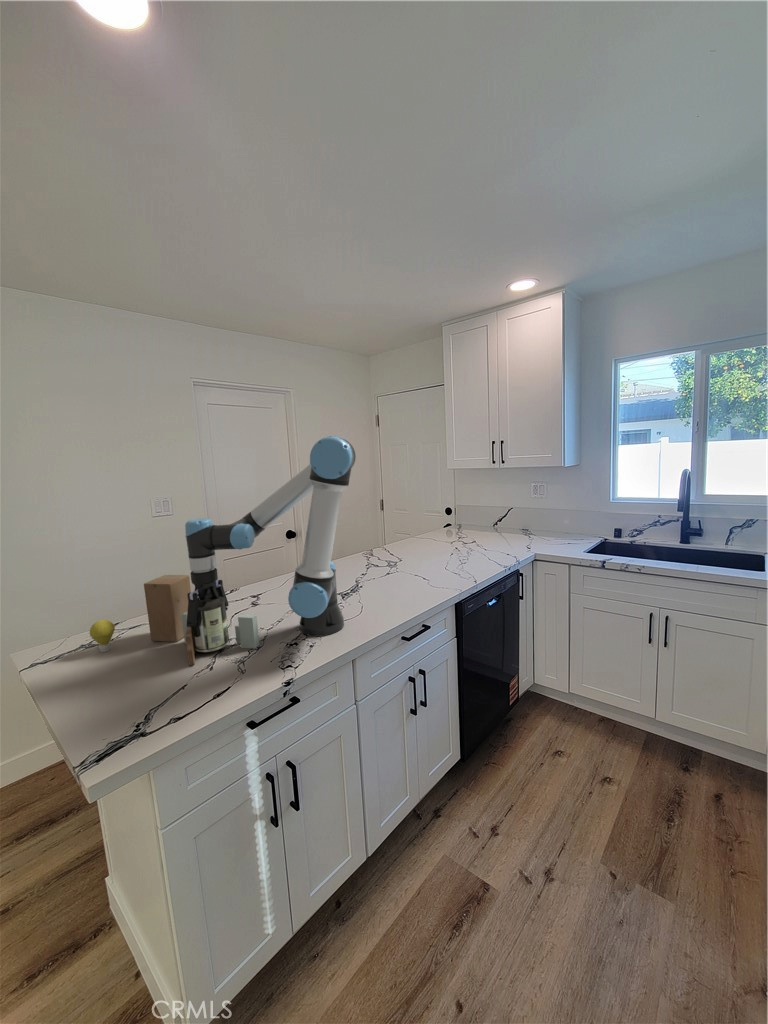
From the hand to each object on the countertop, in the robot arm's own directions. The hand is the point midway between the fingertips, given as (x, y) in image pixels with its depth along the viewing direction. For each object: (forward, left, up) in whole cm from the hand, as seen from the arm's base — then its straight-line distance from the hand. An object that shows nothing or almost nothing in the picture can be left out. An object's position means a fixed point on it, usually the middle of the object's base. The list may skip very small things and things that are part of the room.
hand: (211, 637), depth 132 cm
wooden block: (+20, -7, -4) cm, 22 cm away
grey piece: (-1, -3, -3) cm, 5 cm away
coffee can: (0, 0, -3) cm, 3 cm away
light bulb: (+35, +6, -4) cm, 36 cm away
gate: (+4, +4, -3) cm, 7 cm away
